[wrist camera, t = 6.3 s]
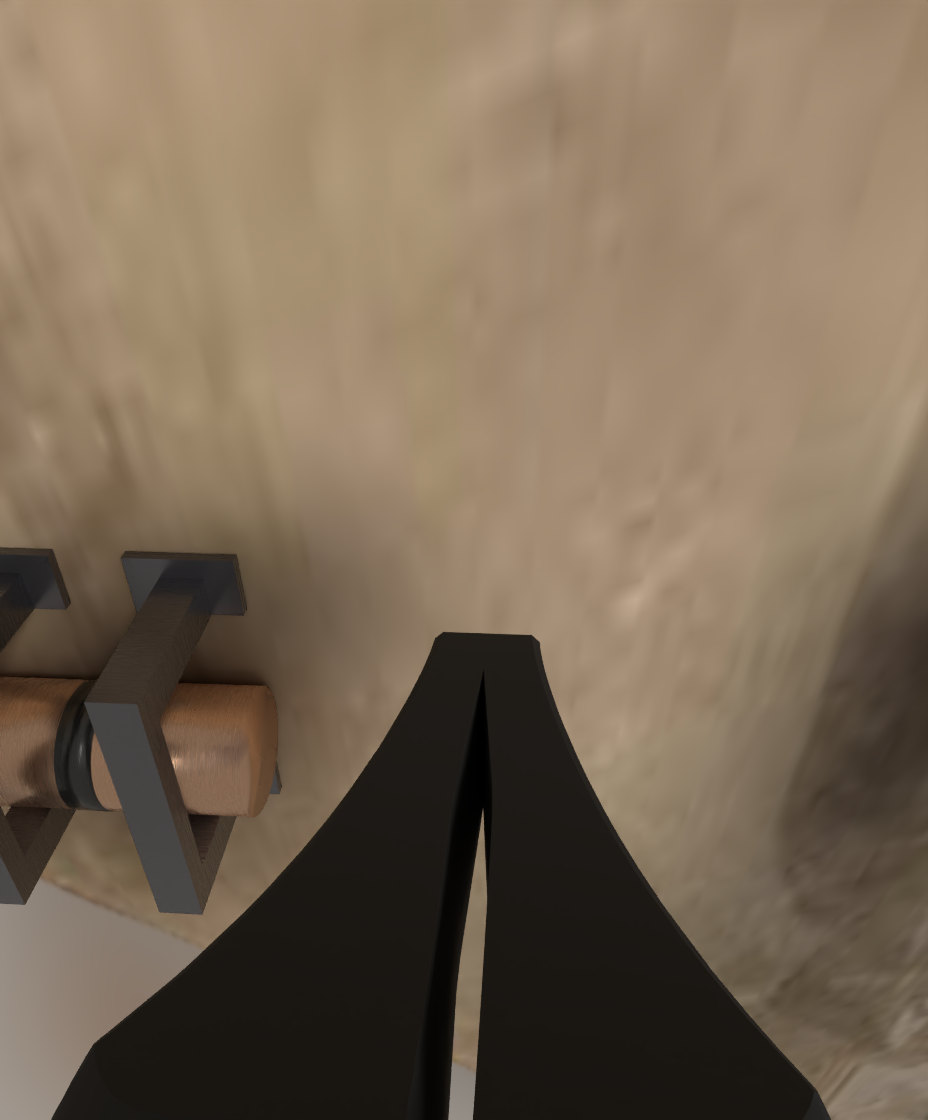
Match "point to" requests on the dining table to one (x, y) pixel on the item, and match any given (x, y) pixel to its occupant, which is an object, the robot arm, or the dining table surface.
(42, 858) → the collar
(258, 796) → the tube
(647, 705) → the dining table surface
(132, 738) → the dark grey support bracket
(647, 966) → the robot arm
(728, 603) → the dining table surface
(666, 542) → the dining table surface
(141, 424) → the dining table surface
